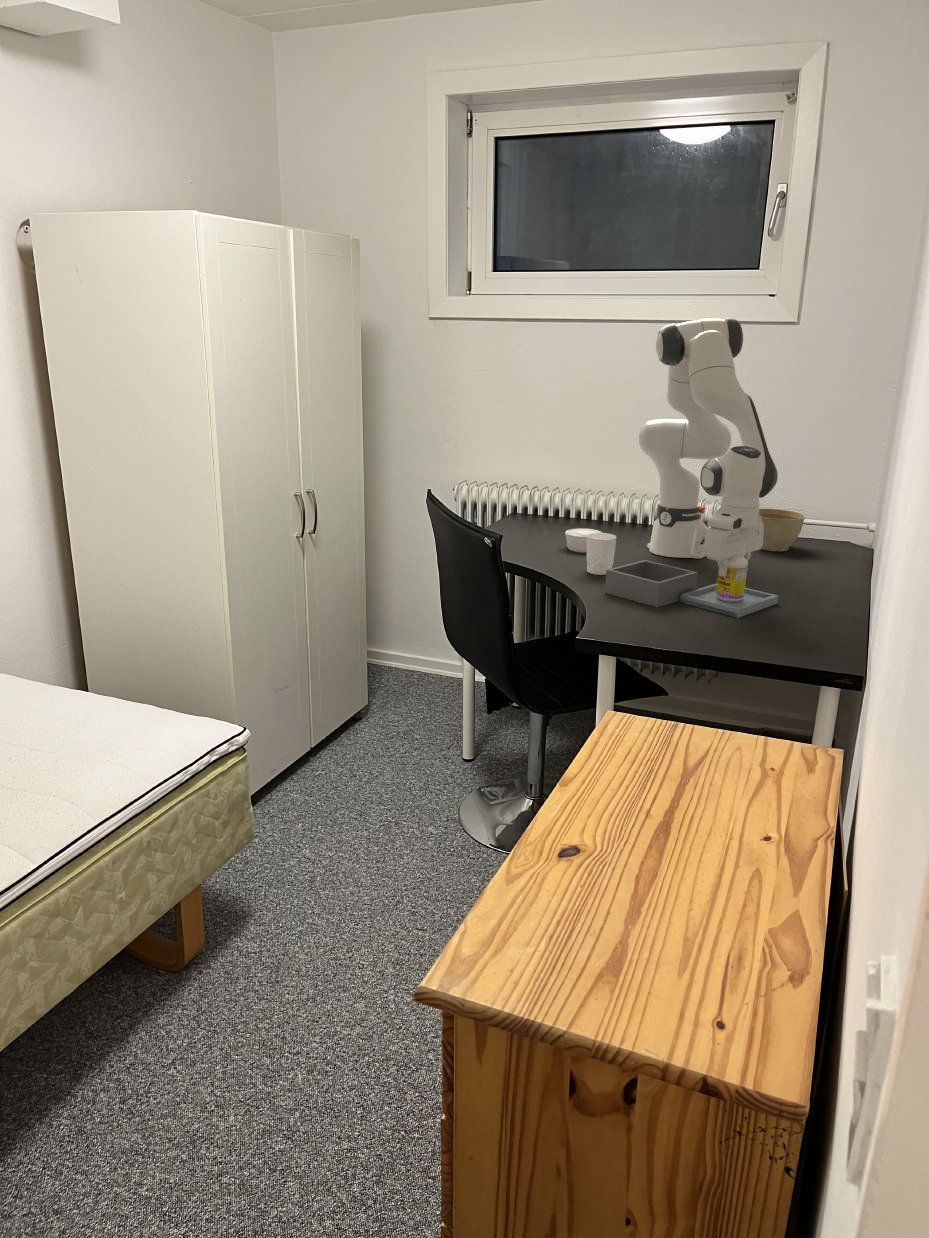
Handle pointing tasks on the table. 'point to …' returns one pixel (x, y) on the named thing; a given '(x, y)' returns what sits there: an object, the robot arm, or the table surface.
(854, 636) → the table surface
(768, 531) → the planter bowl
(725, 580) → the supplement bottle
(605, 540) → the white cup
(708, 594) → the tray
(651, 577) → the deep holder
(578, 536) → the ramekin
